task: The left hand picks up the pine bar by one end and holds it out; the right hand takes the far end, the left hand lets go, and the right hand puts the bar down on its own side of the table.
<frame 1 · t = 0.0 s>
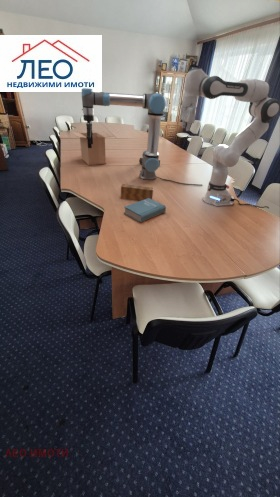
left hand: (90, 146, 173), 28 cm above the table, tool pointing down, fingers open, 13 cm apart
right hand: (185, 129, 139), 48 cm above the table, tool pointing down, fingers open, 8 cm apart
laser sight: (149, 164, 239), on the table
box: (93, 161, 237), on the table
bar: (136, 198, 166), on the table
book: (144, 213, 147), on the table
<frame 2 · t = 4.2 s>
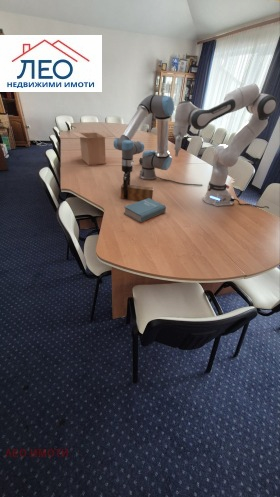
left hand: (126, 196, 166), 1 cm above the table, tool pointing down, fingers closed on bar, 5 cm apart
right hand: (176, 154, 147), 33 cm above the table, tool pointing down, fingers open, 8 cm apart
bar: (136, 198, 166), on the table, touching left hand
everything else where it was.
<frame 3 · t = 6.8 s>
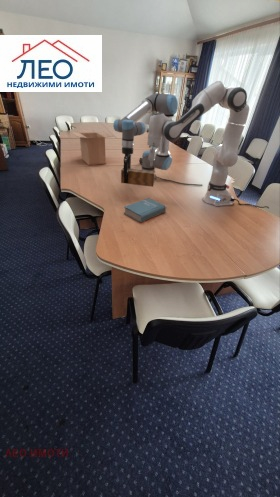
left hand: (126, 181, 159), 12 cm above the table, tool pointing down, fingers closed on bar, 5 cm apart
right hand: (152, 164, 150), 26 cm above the table, tool pointing down, fingers open, 8 cm apart
bar: (137, 183, 159), point 12 cm above the table, touching left hand
everything else where it was.
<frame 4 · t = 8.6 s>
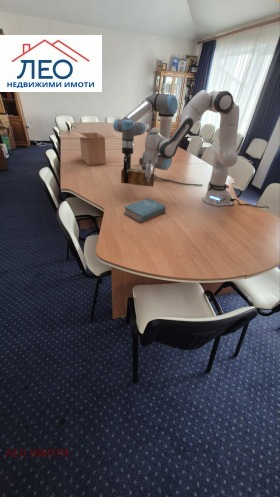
left hand: (126, 181, 159), 12 cm above the table, tool pointing down, fingers closed on bar, 5 cm apart
right hand: (148, 179, 156), 16 cm above the table, tool pointing down, fingers closed on bar, 5 cm apart
bar: (137, 183, 159), point 12 cm above the table, touching left hand, right hand
everything else where it was.
when the left hand's fingers open (12 cm above the table, at t = 9.5 s): bar stays where it is, held by the right hand.
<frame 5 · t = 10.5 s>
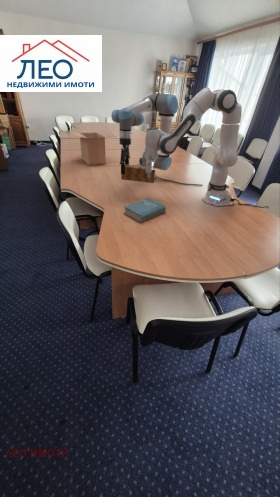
left hand: (125, 170, 155), 20 cm above the table, tool pointing down, fingers open, 13 cm apart
right hand: (149, 175, 154), 18 cm above the table, tool pointing down, fingers closed on bar, 5 cm apart
bar: (138, 180, 157), point 14 cm above the table, touching right hand
everything else where it was.
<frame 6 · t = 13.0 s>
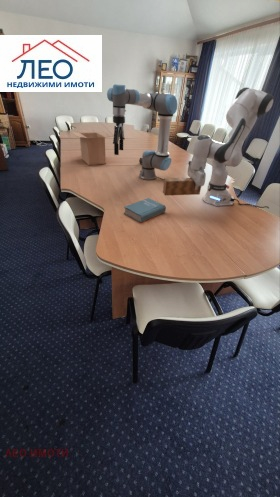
left hand: (118, 152, 148), 31 cm above the table, tool pointing down, fingers open, 13 cm apart
right hand: (193, 187, 141), 18 cm above the table, tool pointing down, fingers closed on bar, 5 cm apart
bar: (181, 193, 142), point 14 cm above the table, touching right hand
everything else where it was.
when the right hand's fingers open (5 cm above the table, at t = 17.7 s): bar stays where it is, on the table.
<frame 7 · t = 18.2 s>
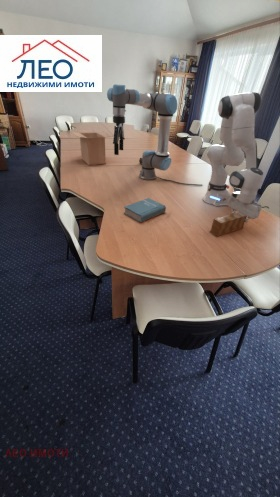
left hand: (118, 152, 148), 31 cm above the table, tool pointing down, fingers open, 13 cm apart
right hand: (239, 218, 136), 6 cm above the table, tool pointing down, fingers open, 8 cm apart
bar: (226, 230, 136), on the table
everything else where it was.
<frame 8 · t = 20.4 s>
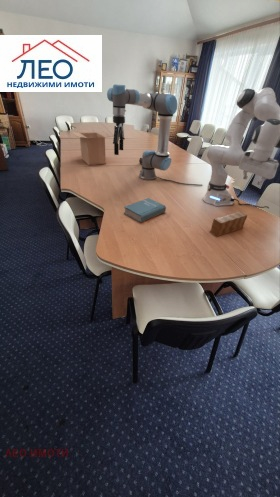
left hand: (118, 152, 148), 31 cm above the table, tool pointing down, fingers open, 13 cm apart
right hand: (251, 181, 122), 29 cm above the table, tool pointing down, fingers open, 8 cm apart
nothing on the table moved.
at the end: bar inside the target area (7.6 cm from its centre), on the table; the left hand is holding nothing; the right hand is holding nothing; bar at rest at the end (0.0 cm/s) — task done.
